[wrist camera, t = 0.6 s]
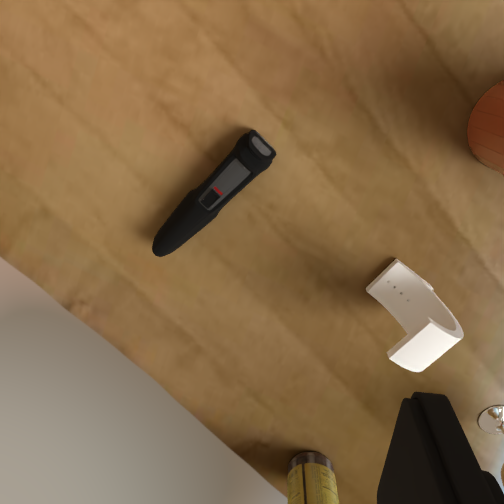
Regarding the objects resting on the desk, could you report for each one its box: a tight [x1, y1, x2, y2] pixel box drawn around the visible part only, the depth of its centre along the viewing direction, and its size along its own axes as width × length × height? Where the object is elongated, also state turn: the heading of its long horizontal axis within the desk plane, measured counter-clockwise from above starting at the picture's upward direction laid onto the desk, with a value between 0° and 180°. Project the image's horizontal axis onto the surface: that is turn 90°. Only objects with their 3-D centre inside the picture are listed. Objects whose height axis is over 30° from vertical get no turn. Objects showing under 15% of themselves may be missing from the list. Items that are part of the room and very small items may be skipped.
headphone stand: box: [366, 258, 464, 372], centre depth 41 cm, size 5×6×12 cm
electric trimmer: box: [152, 130, 276, 257], centre depth 42 cm, size 4×16×3 cm, turn 135°
